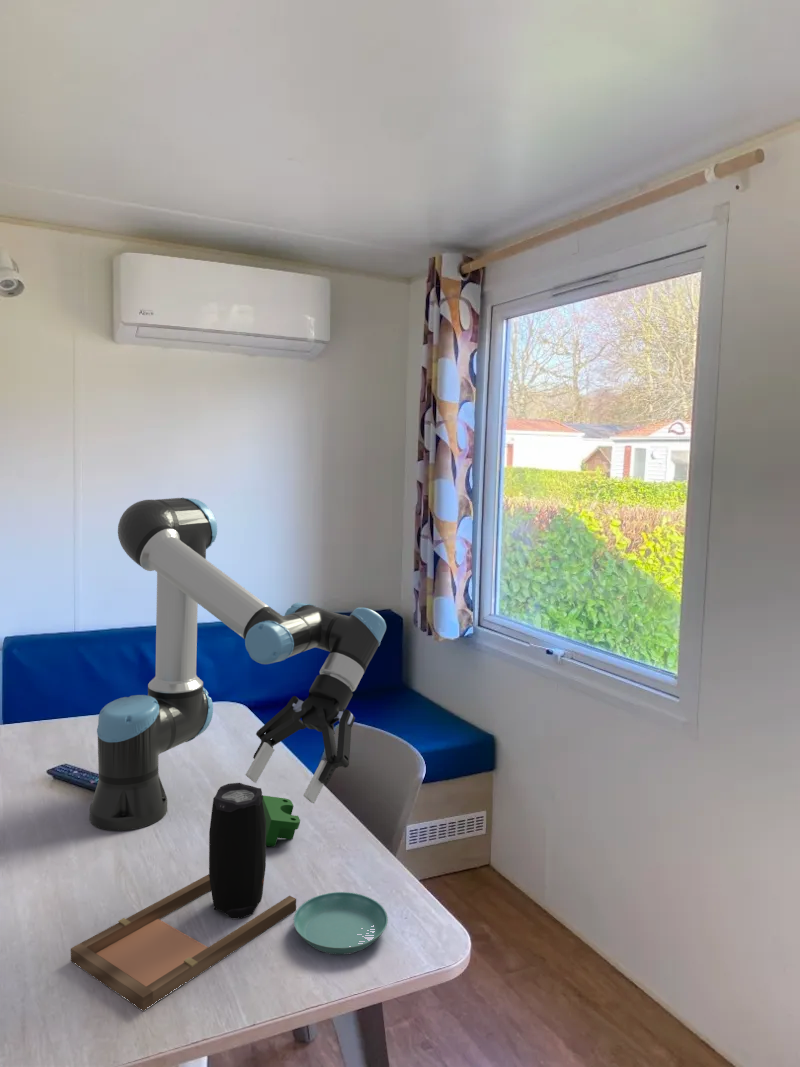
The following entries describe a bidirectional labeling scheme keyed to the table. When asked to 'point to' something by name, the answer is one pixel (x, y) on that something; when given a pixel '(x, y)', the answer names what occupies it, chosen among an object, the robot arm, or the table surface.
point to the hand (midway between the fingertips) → (278, 789)
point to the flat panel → (151, 951)
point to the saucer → (340, 922)
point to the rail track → (191, 967)
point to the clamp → (279, 819)
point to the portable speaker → (237, 849)
